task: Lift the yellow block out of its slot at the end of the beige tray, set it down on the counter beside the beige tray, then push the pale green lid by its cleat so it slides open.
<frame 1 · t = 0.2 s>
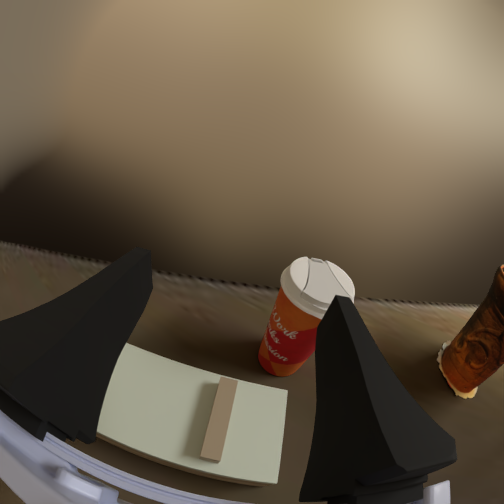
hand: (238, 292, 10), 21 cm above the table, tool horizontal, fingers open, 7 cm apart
vessel: (457, 369, 36), on the table
beige tray: (183, 426, 23), on the table
paper cup: (278, 359, 33), on the table
lid: (184, 411, 20), point 5 cm above the table, slide at 0.0 cm
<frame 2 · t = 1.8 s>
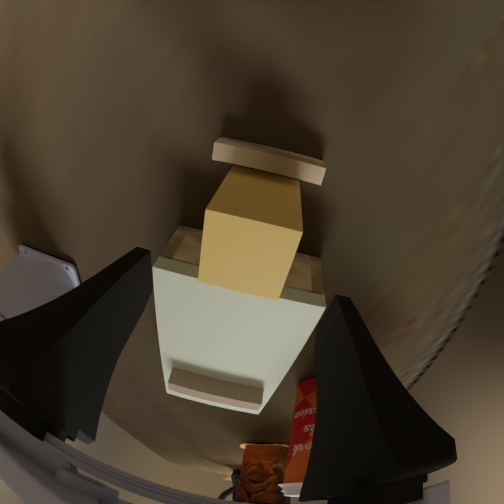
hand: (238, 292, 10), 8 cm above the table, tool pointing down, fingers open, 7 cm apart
vessel: (269, 448, 51), on the table
beige tray: (231, 323, 24), on the table
beer stein: (249, 472, 81), on the table
paper cup: (319, 385, 29), on the table
yellow block: (259, 201, 17), on the table
lid: (219, 370, 20), point 5 cm above the table, slide at 0.0 cm
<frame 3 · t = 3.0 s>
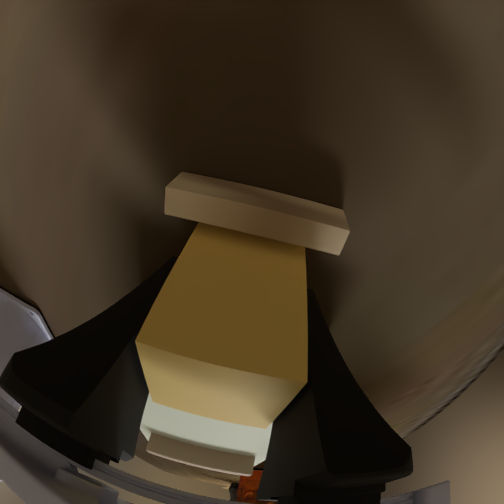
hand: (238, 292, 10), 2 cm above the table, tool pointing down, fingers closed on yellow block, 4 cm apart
vessel: (267, 471, 45), on the table
beige tray: (216, 386, 19), on the table
beer stein: (247, 485, 76), on the table
yellow block: (244, 266, 12), on the table, touching gripper
lid: (203, 445, 15), point 5 cm above the table, slide at 0.0 cm
when the fingers open (3 cm above the table, at t = 5.8 s): yellow block drops 1 cm, on the table.
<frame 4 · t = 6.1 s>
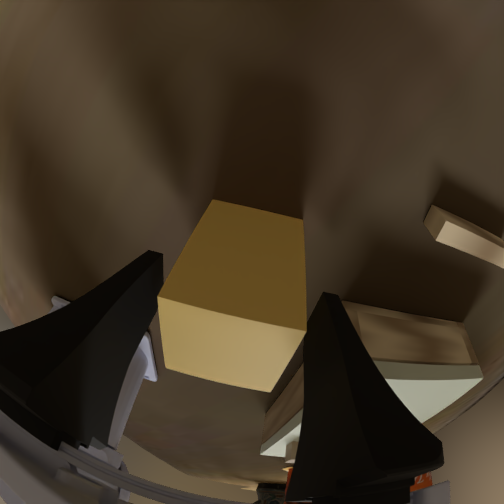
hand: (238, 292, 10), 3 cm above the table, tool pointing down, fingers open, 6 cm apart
beige tray: (349, 384, 19), on the table
beer stein: (274, 484, 77), on the table
yellow block: (249, 246, 13), on the table
lid: (352, 439, 15), point 5 cm above the table, slide at 0.0 cm
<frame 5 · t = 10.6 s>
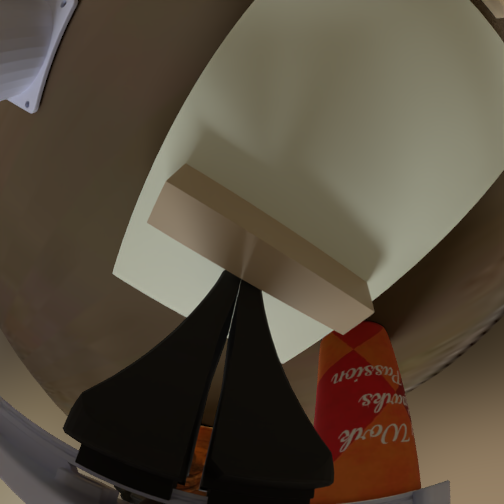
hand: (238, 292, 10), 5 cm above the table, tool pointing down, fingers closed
vessel: (201, 431, 40), on the table
beer stein: (155, 451, 69), on the table
paper cup: (353, 340, 20), on the table
lid: (330, 182, 8), point 5 cm above the table, slide at 0.3 cm, touching gripper
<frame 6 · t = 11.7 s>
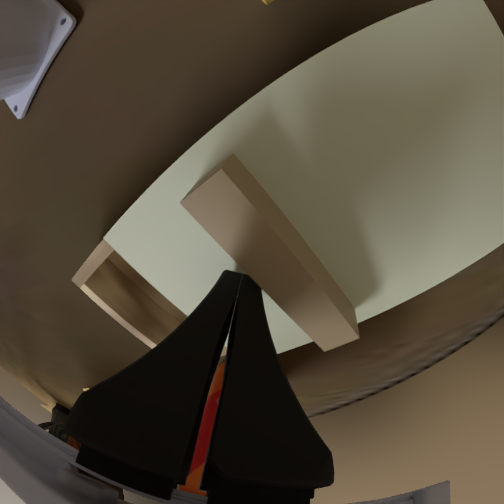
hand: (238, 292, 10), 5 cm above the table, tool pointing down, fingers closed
vessel: (114, 405, 41), on the table
beige tray: (233, 235, 15), on the table
beer stein: (71, 413, 66), on the table
paper cup: (247, 371, 24), on the table
lid: (363, 217, 8), point 5 cm above the table, slide at 6.8 cm, touching gripper
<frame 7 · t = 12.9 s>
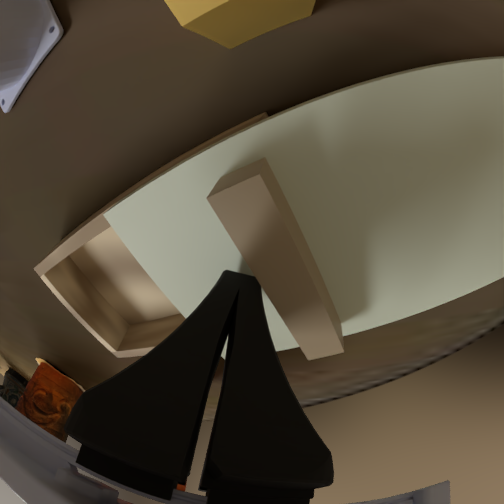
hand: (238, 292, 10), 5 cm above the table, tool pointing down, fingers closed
vessel: (62, 378, 40), on the table
beige tray: (171, 255, 17), on the table
beer stein: (22, 378, 61), on the table
lid: (372, 242, 9), point 5 cm above the table, slide at 11.1 cm, touching gripper
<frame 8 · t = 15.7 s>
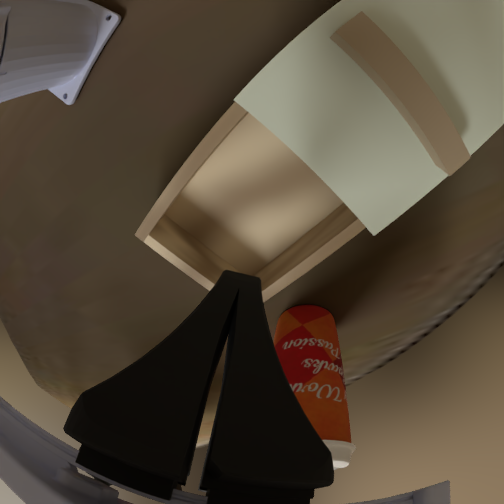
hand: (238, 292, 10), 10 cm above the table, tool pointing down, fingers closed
beige tray: (283, 170, 17), on the table
paper cup: (305, 322, 26), on the table
lid: (442, 61, 8), point 5 cm above the table, slide at 11.2 cm
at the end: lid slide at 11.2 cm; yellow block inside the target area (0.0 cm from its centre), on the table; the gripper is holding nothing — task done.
